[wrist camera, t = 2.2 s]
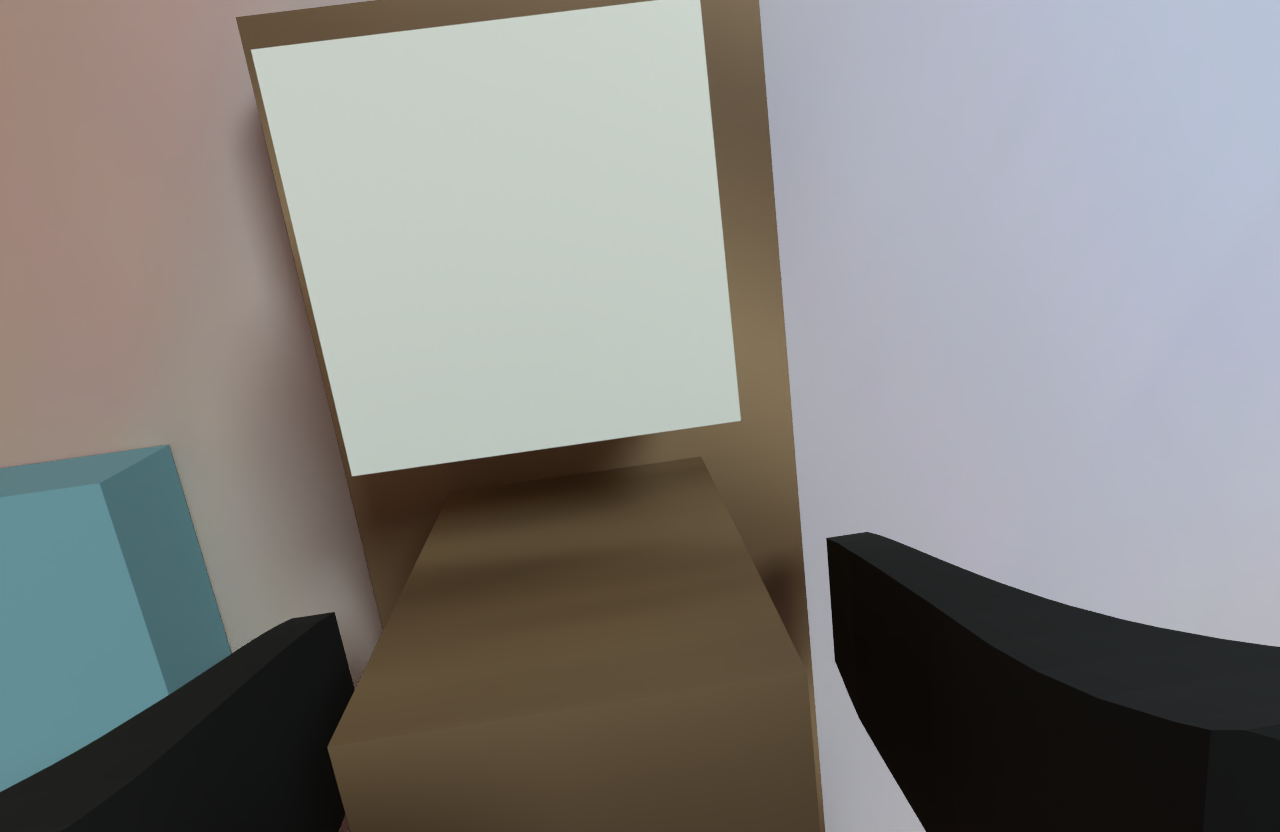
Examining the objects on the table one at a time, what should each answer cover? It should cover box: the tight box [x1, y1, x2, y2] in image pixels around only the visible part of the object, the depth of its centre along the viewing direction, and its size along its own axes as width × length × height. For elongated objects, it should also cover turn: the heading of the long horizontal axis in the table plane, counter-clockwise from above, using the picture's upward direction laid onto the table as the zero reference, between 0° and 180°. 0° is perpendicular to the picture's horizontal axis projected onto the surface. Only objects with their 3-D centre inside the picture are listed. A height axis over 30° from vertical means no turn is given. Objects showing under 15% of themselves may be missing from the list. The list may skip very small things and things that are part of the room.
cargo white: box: [251, 0, 741, 476], centre depth 9 cm, size 4×4×4 cm
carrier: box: [236, 0, 825, 832], centre depth 11 cm, size 18×7×8 cm, turn 7°
